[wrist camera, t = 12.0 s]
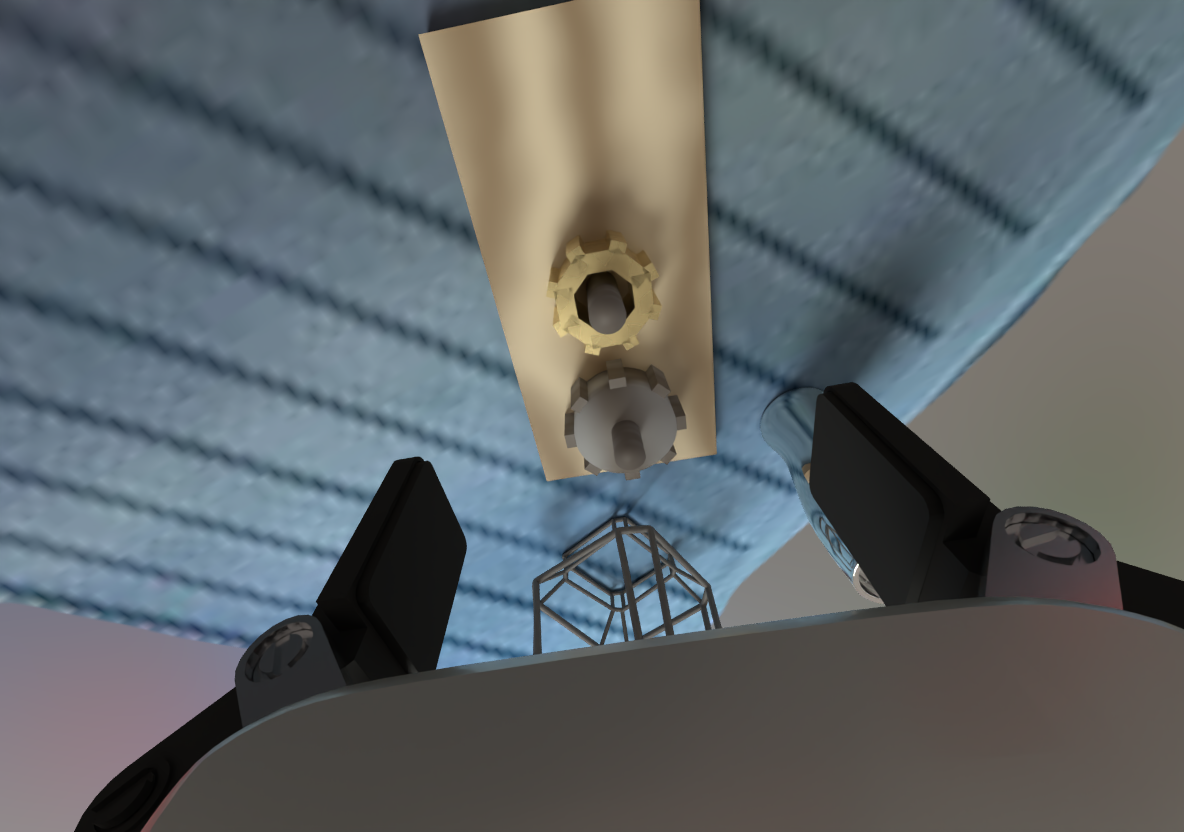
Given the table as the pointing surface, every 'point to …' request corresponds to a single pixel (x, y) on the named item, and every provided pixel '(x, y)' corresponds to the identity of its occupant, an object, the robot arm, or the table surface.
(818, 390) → the beer glass
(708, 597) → the geometric lantern
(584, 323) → the brass gear
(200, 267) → the table surface
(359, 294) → the table surface
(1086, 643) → the robot arm
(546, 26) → the gear board
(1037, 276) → the table surface
